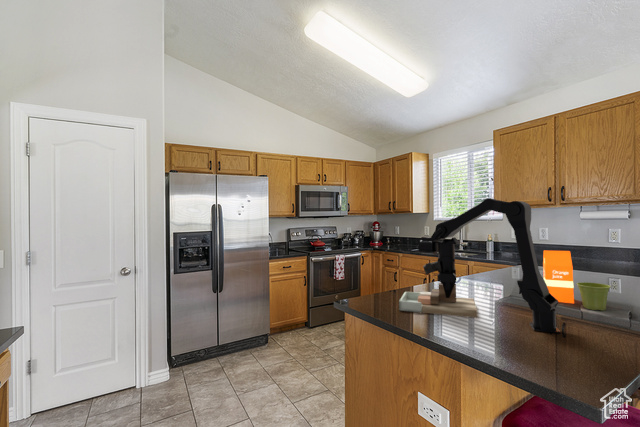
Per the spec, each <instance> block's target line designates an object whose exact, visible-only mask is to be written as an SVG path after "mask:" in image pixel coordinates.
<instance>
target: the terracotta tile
mask: <svg viewBox="0 0 640 427" xmlns="http://www.w3.org/2000/svg"><path fill="white" fill-rule="evenodd" d="M418 302H421V304H427V305H431V303H430V296H419V297H418Z"/></svg>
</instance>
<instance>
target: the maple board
mask: <svg viewBox="0 0 640 427" xmlns="http://www.w3.org/2000/svg"><path fill="white" fill-rule="evenodd" d="M421 313H425V314H435V315H443V316H455V317H467V318H478V309H477V306H476V301H475V298H469V297H468V298H467V297H456V302H447V301H439V304H433V303H431V305H427V304H423V305H422V312H421Z"/></svg>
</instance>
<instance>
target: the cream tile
mask: <svg viewBox="0 0 640 427" xmlns="http://www.w3.org/2000/svg"><path fill="white" fill-rule="evenodd" d="M431 292H432V291H422V290H421V291H420V292H419V293H420V296H430V295H431Z"/></svg>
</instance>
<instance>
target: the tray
mask: <svg viewBox="0 0 640 427" xmlns="http://www.w3.org/2000/svg"><path fill="white" fill-rule="evenodd" d="M419 296H420V292H418V291H417V292H416V291H404V292H403V294H402V296H401V298H399V301H398V305H399V306H398V309H399V311H402V312H403V311H404V312H414V313H422V305H423V304H421V302H418V297H419Z"/></svg>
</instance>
